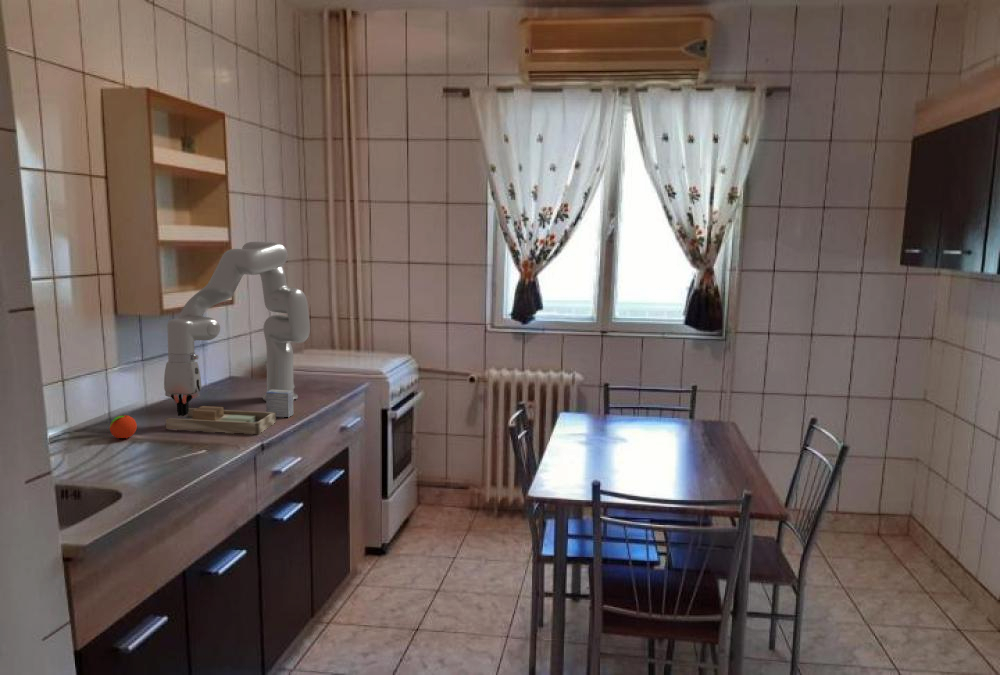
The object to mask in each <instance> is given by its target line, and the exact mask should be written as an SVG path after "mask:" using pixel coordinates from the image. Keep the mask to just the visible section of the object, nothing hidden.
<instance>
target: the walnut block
mask: <svg viewBox="0 0 1000 675" xmlns="http://www.w3.org/2000/svg"><path fill="white" fill-rule="evenodd" d="M224 410H225V409H224V406H213V405H212V406H211V405H209V406H207V405H201V406H199V407H198V408H196V409H195V410H193V419H195V420H214V421H216V420H218V419H219V418H221V417H223V416H224Z"/></svg>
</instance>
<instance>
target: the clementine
mask: <svg viewBox="0 0 1000 675" xmlns="http://www.w3.org/2000/svg"><path fill="white" fill-rule="evenodd" d="M137 429H138V425H137V421H136V419H135V418H133V417H132V416H130V415H127V414H122V415H117V416H116V417H114V418H113V419H112V421H111V422H110V425H109V431H110V433H111V435H112V436H113V437H115V438H116V439H119V438H126V439H128V437H129V438H131V437H132V436H133V435H134V434H135V433H136V431H137Z"/></svg>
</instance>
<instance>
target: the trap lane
mask: <svg viewBox="0 0 1000 675" xmlns="http://www.w3.org/2000/svg"><path fill="white" fill-rule="evenodd" d="M195 409H197V408H192V407H191V408H190V407H189V412H188V414H187V415H186V416H184V417H183V418H173V417H171V418H170V417H166V418H165V430H166V429H177V430H192V431H191V432H196V431H203V432H202V433H215V432H225V433H224V434H234V433H244V434H243V435H253V434H258V435H260V434H261V432H262V433H264V432H265V431H266V430H267V428H268V429H269V428H271V427H272V426H273V425H275V424H276V422H277V421H276V420H277V417H276V413H275V412H266V411H253V410H251V411H250V410H233V409H231V410H230V409H223V410H224V416H223V417H221V418H219V419H218V420H216V421H214V420H195V419H193V410H195ZM274 423H275V424H274ZM271 425H272V426H271ZM177 430H176V431H177ZM264 430H265V431H264ZM258 435H257V436H258Z"/></svg>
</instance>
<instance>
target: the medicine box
mask: <svg viewBox="0 0 1000 675" xmlns="http://www.w3.org/2000/svg"><path fill="white" fill-rule="evenodd" d="M293 393H294V390H293V391H290V390H269V391H268V392H267V391H266V392H265V394H266V401H265V402H266V406H265V408H266V410H265V412H275V413H276V418H284V417H288V418H291V417H292V416H293V415H294V400H293ZM290 416H291V417H290ZM288 418H287V419H288Z"/></svg>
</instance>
